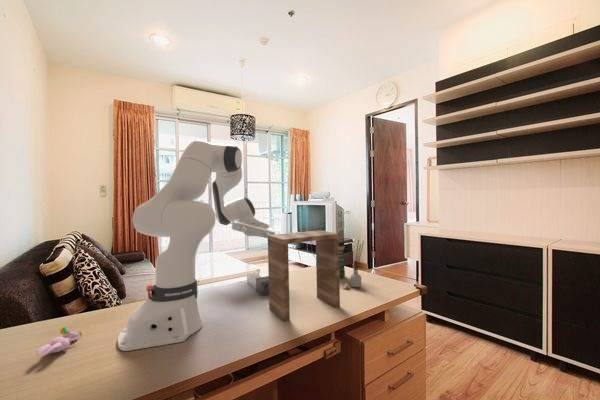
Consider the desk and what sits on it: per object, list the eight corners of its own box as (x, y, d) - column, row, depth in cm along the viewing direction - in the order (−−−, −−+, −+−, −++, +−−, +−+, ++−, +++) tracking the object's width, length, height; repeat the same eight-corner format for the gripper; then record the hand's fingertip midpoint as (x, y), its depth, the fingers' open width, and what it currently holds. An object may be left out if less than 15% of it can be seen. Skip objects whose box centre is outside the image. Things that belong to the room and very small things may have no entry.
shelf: (284, 321, 91) (282, 239, 90) (269, 308, 101) (267, 235, 101) (339, 306, 101) (338, 233, 101) (321, 296, 112) (320, 230, 111)
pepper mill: (262, 297, 113) (262, 282, 113) (245, 282, 131) (245, 270, 131) (275, 294, 116) (275, 280, 115) (256, 280, 134) (256, 268, 134)
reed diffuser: (360, 283, 127) (359, 238, 126) (371, 288, 120) (370, 240, 120) (341, 287, 122) (340, 240, 121) (351, 292, 116) (350, 243, 115)
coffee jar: (329, 280, 132) (329, 240, 132) (322, 275, 140) (321, 238, 139) (347, 277, 136) (347, 238, 136) (339, 273, 143) (338, 236, 143)
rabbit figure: (63, 343, 83) (25, 364, 68) (64, 321, 83) (27, 338, 69) (87, 340, 84) (55, 360, 69) (88, 319, 85) (57, 335, 70)
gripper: (231, 214, 134) (236, 221, 122) (271, 225, 142) (279, 232, 130) (227, 227, 135) (231, 235, 122) (267, 237, 142) (275, 245, 130)
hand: (257, 234), depth 126 cm, fingers open, 8 cm apart
